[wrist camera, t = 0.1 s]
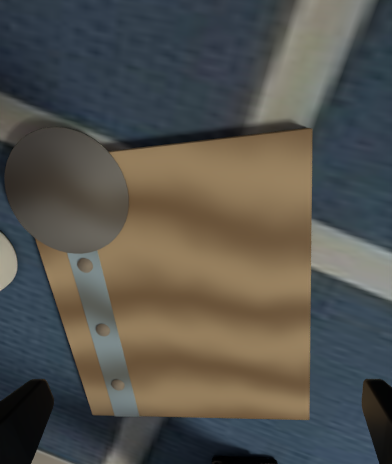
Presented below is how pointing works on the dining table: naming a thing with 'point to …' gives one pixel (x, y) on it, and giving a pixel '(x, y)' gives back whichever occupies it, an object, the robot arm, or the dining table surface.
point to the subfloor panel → (177, 268)
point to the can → (7, 261)
